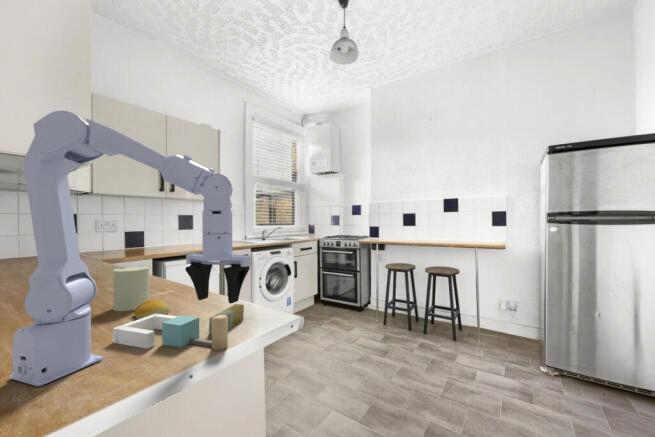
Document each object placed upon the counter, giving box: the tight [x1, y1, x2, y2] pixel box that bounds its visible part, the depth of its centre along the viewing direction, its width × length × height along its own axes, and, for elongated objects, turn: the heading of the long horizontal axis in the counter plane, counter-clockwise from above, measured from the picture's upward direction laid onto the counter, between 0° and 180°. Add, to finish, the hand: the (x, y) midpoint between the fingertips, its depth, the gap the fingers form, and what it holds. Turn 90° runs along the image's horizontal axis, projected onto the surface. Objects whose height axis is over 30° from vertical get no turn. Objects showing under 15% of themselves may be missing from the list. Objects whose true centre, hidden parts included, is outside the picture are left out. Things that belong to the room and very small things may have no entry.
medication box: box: [208, 303, 245, 336], centre depth 70 cm, size 12×3×4 cm, turn 170°
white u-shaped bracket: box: [112, 314, 179, 350], centre depth 64 cm, size 10×10×3 cm
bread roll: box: [133, 299, 171, 320], centre depth 79 cm, size 8×9×4 cm
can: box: [112, 265, 150, 312], centre depth 87 cm, size 9×9×12 cm
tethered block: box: [161, 315, 229, 351], centre depth 60 cm, size 5×14×6 cm, turn 71°
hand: (217, 300), depth 58 cm, fingers open, 7 cm apart
